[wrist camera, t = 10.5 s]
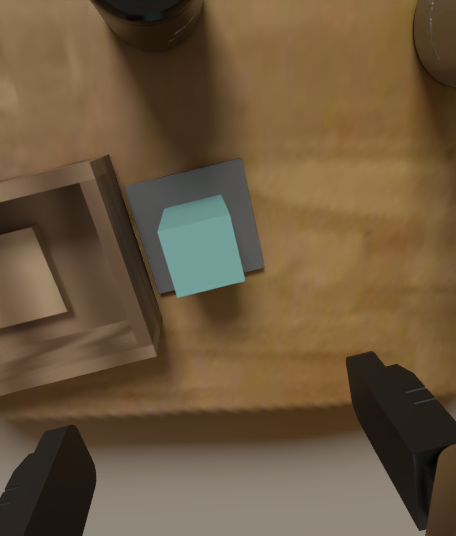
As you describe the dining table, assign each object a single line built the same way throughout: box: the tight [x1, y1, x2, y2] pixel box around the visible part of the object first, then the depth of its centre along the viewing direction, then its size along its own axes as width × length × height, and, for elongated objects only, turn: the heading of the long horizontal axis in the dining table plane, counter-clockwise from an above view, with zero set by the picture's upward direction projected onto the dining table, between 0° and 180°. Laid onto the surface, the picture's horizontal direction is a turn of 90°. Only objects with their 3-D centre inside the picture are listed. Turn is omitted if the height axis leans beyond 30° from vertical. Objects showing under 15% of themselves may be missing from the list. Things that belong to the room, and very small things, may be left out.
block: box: [157, 195, 245, 298], centre depth 28 cm, size 4×4×7 cm
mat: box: [125, 158, 264, 294], centre depth 32 cm, size 9×9×1 cm
